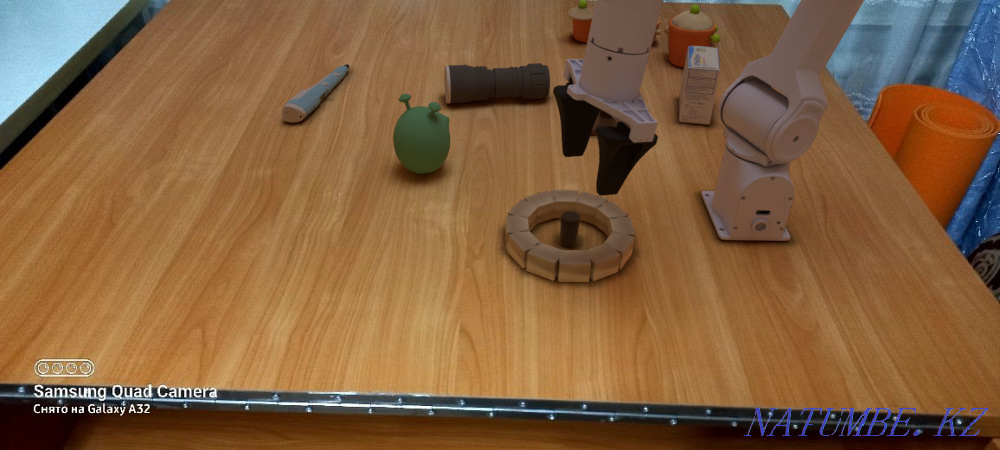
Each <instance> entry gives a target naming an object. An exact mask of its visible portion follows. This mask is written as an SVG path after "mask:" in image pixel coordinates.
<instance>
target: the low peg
mask: <svg viewBox="0 0 1000 450" xmlns="http://www.w3.org/2000/svg"><path fill="white" fill-rule="evenodd" d="M580 221H581V220H580V216H579V214H577V213H576V212H572V211H567V212H564V213H563V214H562V215H561V218H560V224H559V225H560V226H559V227H560V228H559V238H558V242H559V244H560V245H561V246H563V247H565V248H573V247H575V246H576V245H577V244H578V239H579V229H580V228H579V227H580Z"/></svg>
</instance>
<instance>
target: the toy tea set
mask: <svg viewBox="0 0 1000 450" xmlns="http://www.w3.org/2000/svg"><path fill="white" fill-rule="evenodd" d="M577 5H578V6H575V7H572V8H571V9H569V10H568V11H567V14H566V15H567V17H568V18H570V19H572V20H571V21H572V22H571V23H572V35H573V38H574V40H576V41H578V42H581V43H586V44H587V42H588V37H589V32H590V27H591V22H592V17H593V13H594V8H590V7H588V1H587V0H579V1H578V3H577ZM660 24H661V19H660V17H659V18H658V22H657V26H656V30H655V34H654V38H653V42H652V44H653V43H654V42H655V40H656V37H657V36H660V35H662V29H660V28H659V27H660ZM663 31H664V34H666V35H668V61H669V62H670V63H671V64H672V65H674V66H676V67H678V68H683V69H684V66H685V60H686V54H687V49H688V47H689V46H704V47H711V44H712V43H713V44H719V43H720V42H721V39H722V37H721V35H720V34H718V33H717V32H718V31H719V26H718V24H715V22H714V21H713V20H712V19H711V18H710V17H709V16H708V15H707V14H706V13H704V12H702V11H701V8H700V5H698V4H692V5H691V6H690V9H689V10H684V11H682V12H680V13H678V14H676V16H674V17H672V18H671V19H669V21H668V25H667V26H665V28H664V30H663Z"/></svg>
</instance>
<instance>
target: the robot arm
mask: <svg viewBox="0 0 1000 450" xmlns="http://www.w3.org/2000/svg"><path fill="white" fill-rule="evenodd" d="M663 2H664V0H595V4H594V8H593V9H594V13H593V17H592V22H591V27H590V32H589V37H588V42H587V43H586V47H585V52H584V57H583V58H567V59H566V60H565V65H564V69H563V75H562V77H563V78H564V79H565V80H566V81H568V82H566V83H565V84H561V85H555V86H554V87H553V91H552V93H553V96H554V98H555V102H556V105H557V109H558V113H559V114H558V115H559V121H560V131H561V151H562V155H563V156H564V158H575V157H583V156H584V153H585V152H586V150H587V147H588V144H589V141H590V138H591V136H592V135H591V132H592V128H593V126H594V123H595V121H596V118H597V116H598V114H599V112H600V111H601V110H603V111H605V112H607V113H608V114H610V115H611V116H612V117H613V118H614V119H615V120H616V121H618V122H617V126H616V127H615V126H614V127H597V128H596V134H597V135H596V138H597V143H598V167H597V173H596V181H595V189H596V190H595V191H596V193H597V194H598V196H600V197H604V196H612V195H613V196H615V195H618V194H619V192H620V190H621V189H622V186H623V185H624V183H625V182H626V179H627V178H628V177H629V175H630V174H631V172H632V171H633V169H634V168H635V166H636V165H637V164H638V163H639V161H640V160H641V159H642V158H643V157H644V156H645V155H646V154H647V153H648V152H649V151H650V150H651V149H653V147H655V146H656V145H657V142H658V139H659V136H658V135H657V134H656V131H657V127H658V123H659V122H658V121H657V120H656V119H655V118H654V117H653V116H652V114H651V113H650V110H649V108H648V106H647V104H646V102H645V99H644V97H643V94H642V93H641V88H642V84H643V81H644V77H645V74H646V69H647V65H648V61H649V57H650V53H651V49H652V45H653V43H654V42H653V38H654V34H655V30H656V26H657V22H658V18H659V19H660V15H661V10H662V7H663ZM864 2H865V0H799V3H798V4H797V6H796V8H795V10H794V12H793V14H792V15H791V17H790V18H789V21H788V22H787V25H786V27H785V28H784V30H783V32H782V34H781V35H780V37H779V39H778V41H777V43H776V44H775V45H774V48H773V49H772V52H771V54H769V55H766V56H763V57H760V58H757V59H755V60H751V61H749V62H747V63H746V64H745V66H744V67H743V69H742V71H741V73H740V75H738V77H737V78H736V79H735V81H734V82H732V83H731V84H730V85H729V86H728V87H727V88H726V89H725V91H724V92H723V94H722V95H721V97H720V99H719V102H718V106H717V118H718V120H719V122H720V124H721V125H722V126H723V127H724V128H723V132H722V133H723V134H722V136H723V137H724V138H725V142H724V148H723V153H722V156H721V160H720V165H719V170H718V174H717V178H716V181H715V187H714V190H703V191H701V198H702V200H703V202H704V205H705V208H706V210H707V212H708V214H709V217H710V219H711V222H712V224H713V226H714V229H715V231H716V234H717V237H718V238H719V239H720V240H723V241H774V242H775V241H776V242H781V241H783V242H788V241H790V239H791V234H790V232H789V230H788V229H787V227H786V226H787V223H788V221H789V217H790V213H791V210H792V207H793V204H794V201H795V197H796V190H795V187H794V184H793V181H792V178H791V174H790V172H791V171H790V167H791V162H794V161H796V160H798V159H799V158H800V157H802V156H803V155H805V154H806V153H807V152H808V150H810V148H811V147H812V145H813V144H814V142H815V140H816V139H817V138H816V137H817V135H818V131H819V127H820V123H821V121H822V118H823V116H824V114H825V113H826V110H828V108H829V102H828V99H827V96H826V93H825V89H824V87H823V84H822V81H821V77H820V76H821V74H822V73H823V71H824V69H825V68H826V66H827V64H828V63H829V61H830V59H831V58H832V56H833V54H834V52H836V51H835V50H836V49H837V47H838V45H839V44H840V42H841V40H842V39H843V37H844V36H845V34H846V32H847V30H848V29H849V27H850V26H851V24H852V23H853V21H854V19H855V18H856V15H857V14H858V13H859V11H860V9H861V7H862V6H863V4H864ZM652 42H653V43H652Z"/></svg>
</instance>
